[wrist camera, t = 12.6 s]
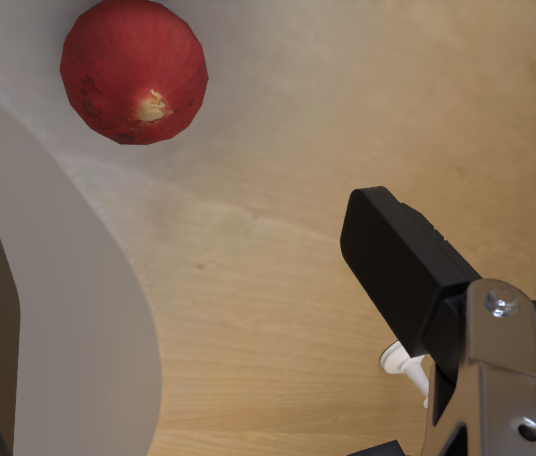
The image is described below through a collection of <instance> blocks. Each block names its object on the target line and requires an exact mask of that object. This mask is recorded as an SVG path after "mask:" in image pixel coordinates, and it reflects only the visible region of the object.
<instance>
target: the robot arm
mask: <svg viewBox="0 0 536 456" xmlns="http://www.w3.org/2000/svg"><path fill="white" fill-rule="evenodd" d="M340 246H341V252H342V255H343V257H344V260H345V261H346V263H347V264H348V266H349V267H350V269H351V270H352V272H353V273H354V275H355V276H356V278H357V279H358V281H359V282H360V284H361V285H362V287H363V288H364V290H365V291H366V292H367V294H368V295H369V297H370V298H371V300H372V301H373V303H374V304H375V306H376V307H377V309H378V310H379V312H380V313H381V315H382V316H383V318H384V319H385V321H386V322H387V324H388V325H389V327H390V328H391V330H392V331H393V333H394V334H395V336H396V337H397V338H398V340H399V341H400V343H401V344H402V346H403V347H404V349H405V350H406V352H407V353H408V355H409V356H410V358H414V357H418V356H422V355H425V354H430V355H431V357H432V358H433V360H434V361H433V363H432V365H431V368H430V378H429V391H428V405H427V419H426V432H425V439H424V444H423V448H422V451H421V454H420V456H536V301H535V300H530V299H529V297H528V296H527V295H526V294H525V293H523V292H522V291H521V290H519V289H518V288H516V287H515V286H513V285H511V284H509V283H506V282H504V281H501V280H496V279H489V278H485V279H483V278H482V277H481V276H480V275H479V274H478V273H477V272H476V271H475V270H474V269H473V268H472V267H471V265H470V264H469V263H468V262H467V261H466V260H465V259H464V258H463V257H462V256H461V255H460V254H459V253H458V252H457V251H456V250H455V249H454V248H453V246H452V245H451V244H450V243H449V242H448V241H447V240H446V241H445V240H444V237H443V236H442V235H441V234H440V233H439V232H438V231H437V230H434V226H433V225H432V224H431V223H430V222H429V221H428V220H427V219H426V218H425V217H424V216H423V215H422V214H421V213H420V212H418V211H416V210H415V209H413V208H411V207H410V206H408V205H406V204H404V203H400V202H399V201H398V200H397V199H396V198H395V197H394V196H393V195H392V194H391V193H390V192H389V191H388V189H386V188H385V187H383V186H378V187H370V188H363V189H355V190H353V191H352V193H351V195H350V198H349V202H348V206H347V210H346V215H345V219H344V224H343V228H342V232H341V237H340ZM19 333H20V303H19V297H18V292H17V289H16V285H15V282H14V279H13V276H12V273H11V270H10V267H9V264H8V261H7V258H6V255H5V251H4V249H3V245H2V243H1V240H0V456H13V442H14V424H15V406H16V387H17V369H18V349H19ZM347 456H409V455H405V454H404V452H403V450H402V449H401V447H400V445H399V443H398V441H397V440H394V441H390V442H387V443H384V444H381V445H378V446H375V447H371V448H368V449H365V450H362V451H359V452H356V453H352V454H349V455H347Z"/></svg>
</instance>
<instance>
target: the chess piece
mask: <svg viewBox="0 0 536 456" xmlns="http://www.w3.org/2000/svg"><path fill="white" fill-rule="evenodd" d="M424 356H425V355H422V356H418V357H414V358H410V356H409V355H408V353H407V352H406V350H405V349H404V347H403V346H402V344H401V343H400V341H397V342H396V343H394V344H393V345H391V346H390V347H389V348H388V349H387V350H386V351H385V352H384V354H383V355H382V357H381V360H380V364H381V366H382V368H384V370H385V371H386V372H387V373H390V374H399V373H403V374H406V375H407V376H408V377H409V378H410V379H411V380H412V381H413V383H414V384H415V385H416V386H417V387H418V388H419V390H420V391H421V392H422V393H423V395H424V396H425V397H426V398H427V399H426V400H425V401H424V403H423V405H424V407H426V408H427V405H428V391H429V381H428V379H427V377H426V375H425V373H424V371H423V369H422V367H421V365H420V364H421V360H422V359H423V357H424Z"/></svg>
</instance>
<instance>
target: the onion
mask: <svg viewBox="0 0 536 456" xmlns="http://www.w3.org/2000/svg"><path fill="white" fill-rule="evenodd" d="M60 73H61V76H62V80H63V83H64V86H65V90H66V93H67V97H68V100H69V102H70V105H71V106H72V107H73V108H74V110H75V111H76V112H77V113H78V114H79V115H80V117H81V118H82V119H83V120H84V121H85V123H86V124H87V125H88V126H89V127H90V128H91V129H92V130H94V131H96V132H97V133H99V134H101V135H103V136H105V137H107V138H109V139H111V140H113V141H115V142H117V143H119V144H123V145H149V144H152V143H155V142H159V141H162V140H167V139H171V138H173V137H174V136H175V135H177V134H178V133H180V132H181V131H182V130H184V129H185V128H186V127H188V126H189V124H190V123H191V121H192V120H193V118H194V117H195V115H196V114H197V112H198V110H199V109H200V107H201V106H202V102H203V98H204V94H205V90H206V86H207V82H208V73H207V68H206V63H205V59H204V54H203V49H202V46H201V44H200V43H199V41H198V39H197V38H196V36H195V35H194V33H193V32H192V30H191V29H190V27H189V26H188V24H187V23H186V22H184V21H183V20H182V19H181V18H179V17H178V16H176V15H175V14H174V13H172V12H171V11H170V10H168V9H167V8H166V7H164V6H163V5H161V4H159V3H156V2H152V1H149V0H103V1H101V2H100V3H98V4H97V5H95V6H94V7H92V8H91V9H89V10H88V11H86V12H84V13H83V14H81V15H80V16H79V17H78V19H77V20H76V22H75V24H74V26H73V28H72V29H71V31H70V32H69V34H68V35H67V37H66V39H65V42H64V45H63V52H62V58H61V64H60Z"/></svg>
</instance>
